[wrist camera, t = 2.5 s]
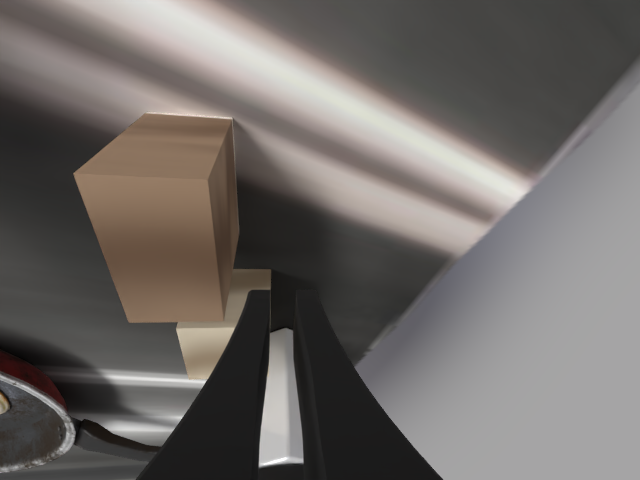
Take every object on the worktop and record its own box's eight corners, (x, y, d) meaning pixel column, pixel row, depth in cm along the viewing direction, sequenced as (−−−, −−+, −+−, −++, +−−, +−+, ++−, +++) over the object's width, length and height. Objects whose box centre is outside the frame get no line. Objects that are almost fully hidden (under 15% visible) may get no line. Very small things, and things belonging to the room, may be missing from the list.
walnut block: (147, 111, 16) (73, 173, 10) (232, 117, 16) (207, 179, 11) (171, 230, 20) (128, 322, 14) (239, 232, 20) (223, 321, 15)
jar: (320, 386, 32) (337, 553, 22) (234, 387, 30) (213, 566, 21) (335, 327, 27) (367, 511, 17) (233, 325, 25) (205, 524, 16)
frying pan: (-243, 268, 19) (-343, 320, 16) (265, 383, 31) (263, 424, 28) (-182, 419, 27) (-239, 471, 24) (195, 462, 40) (188, 500, 37)
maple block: (195, 267, 22) (176, 328, 18) (271, 268, 22) (269, 326, 18) (203, 317, 25) (188, 379, 21) (270, 316, 25) (268, 376, 21)
